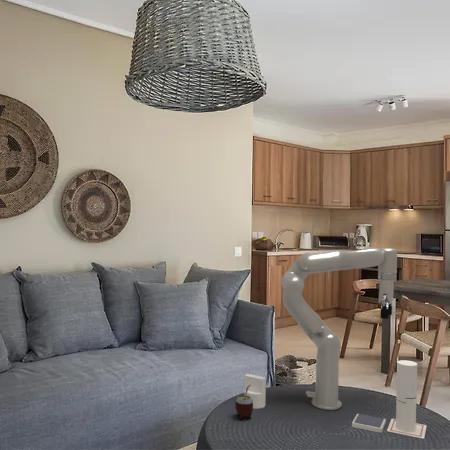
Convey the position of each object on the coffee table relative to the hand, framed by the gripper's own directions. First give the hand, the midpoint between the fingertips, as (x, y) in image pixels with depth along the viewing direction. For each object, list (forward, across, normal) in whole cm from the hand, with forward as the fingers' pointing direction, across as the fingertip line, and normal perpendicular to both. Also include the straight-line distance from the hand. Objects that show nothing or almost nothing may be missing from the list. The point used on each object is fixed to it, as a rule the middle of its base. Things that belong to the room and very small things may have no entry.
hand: (386, 316), depth 209 cm
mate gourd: (+38, +42, -47) cm, 74 cm away
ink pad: (+38, +24, -2) cm, 46 cm away
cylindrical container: (+38, +21, +11) cm, 45 cm away
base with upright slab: (+39, +27, -49) cm, 68 cm away
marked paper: (+38, +20, +12) cm, 45 cm away
